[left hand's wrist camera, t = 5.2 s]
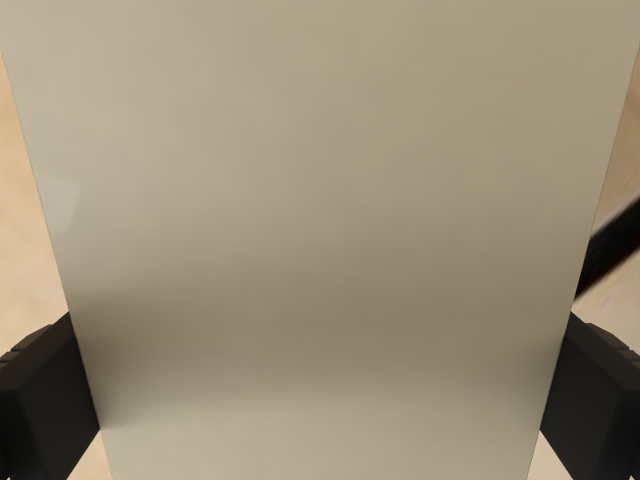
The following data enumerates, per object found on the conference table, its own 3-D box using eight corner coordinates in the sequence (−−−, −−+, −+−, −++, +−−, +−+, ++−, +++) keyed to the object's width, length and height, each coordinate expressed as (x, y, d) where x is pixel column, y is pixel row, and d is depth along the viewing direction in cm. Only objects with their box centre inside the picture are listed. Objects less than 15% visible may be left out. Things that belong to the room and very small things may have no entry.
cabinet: (176, -125, 14) (-204, -717, 4) (463, -124, 14) (843, -719, 4) (219, 298, 20) (116, 501, 10) (420, 299, 20) (522, 501, 10)
